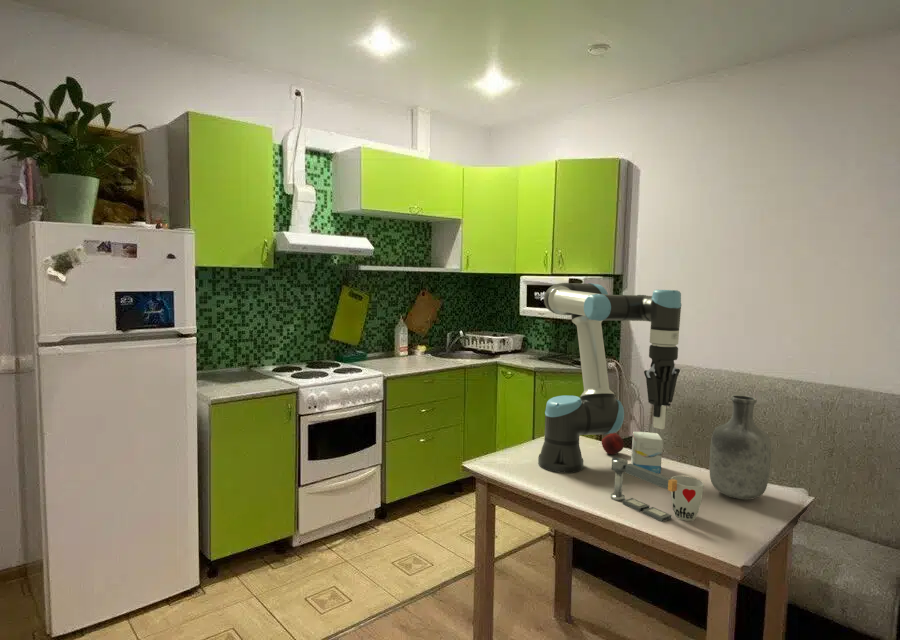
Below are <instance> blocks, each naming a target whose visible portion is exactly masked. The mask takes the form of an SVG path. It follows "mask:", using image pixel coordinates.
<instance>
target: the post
mask: <svg viewBox="0 0 900 640" xmlns="http://www.w3.org/2000/svg"><path fill="white" fill-rule="evenodd" d="M614 474H615V475H614V489H613V493H611V494H610V499H611V500H613V501H615V502H623V500H626V496H625V494H623V482H624V480H623V479H624V472H616V471H614Z"/></svg>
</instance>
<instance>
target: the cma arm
mask: <svg viewBox="0 0 900 640" xmlns="http://www.w3.org/2000/svg"><path fill="white" fill-rule="evenodd" d="M628 462H629V461H628V459H626V458H622V457H612V459H611V467H610V468H611V470H612V471H613V472H615V471H616V472H623V473H626V474H628V475H630V476H633V477H635V478H638V479H640V480H642V481H645V482H647V483H651V484H652V485H655V486H658V487H661V488H663V489H665V490H667V492H668V491H669V492H670V493H671V492H673V491H677V480H675V479H671V478H672V477H667V476H664V475H663V474H661V473H660V474H659V473H655V472H652V471H649V470H647V469H644V468H641V467H638V466H636V465H633V464H631V463H628Z"/></svg>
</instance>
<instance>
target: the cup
mask: <svg viewBox="0 0 900 640" xmlns="http://www.w3.org/2000/svg"><path fill="white" fill-rule="evenodd" d="M670 478H671V479H675V480H677V491H673V492H671V491H670V494H671V496H670V497H671V505H672V509H673V514H674V516H675V518H677V519H679V520H681V521H684V522H685V521H686V522H693V521H695V519H696V518H697V515H698V514H699V510H700V507H701V502H702V499H703V493H704V487H705V483H704V482H703V481H702V480H700V479H699V478H696V477H692V476H687V475H675V476H672V477H670Z"/></svg>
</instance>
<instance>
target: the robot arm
mask: <svg viewBox="0 0 900 640" xmlns="http://www.w3.org/2000/svg"><path fill="white" fill-rule="evenodd" d="M543 302H544V306H545V308H546V309H547V310H548V311H549V312H550V313H552V314H556V315H559V316H560V315H562V316H570V317H571V322H572V323H573V324H574V325H575V326H576V330H577V331H576V332H577V339H578V347H579V349H578V350H579V356H580V357H579V359H580V365H581V374H582V385H583V392H582V393H581V395H580V396H576V395H566V394H565V395H557V396H553V397H550V398H549V399H548V400H547V401H546V405H545V411H544V414H545V415H544V418H545V419H544V437H543V438H544V442H543V445H542V447H541V450H540V453H539V455H538V460H537V461H538V462H537V463H538V465H539V466H540V467H541V468H542V469H545V470H547V471H550V472H556V473H563V474H564V473H566V474H567V473H576V472H580V471H582V470H583V469H584V458H583V456H582V451H581V447H580V436H586V435H587V436H588V435H589V436H590V435H603V436H606V435H609V434H612V433H616V434H617V433H618V431H620V430H621V428H622V426H623V424H624V419H625V410H624V409H625V408H624V406H623V403H622V402H621V400H618V399H616V394H615V393H614V392H613V391H612V390H611V389H610V383H609V375H608V366H607V358H606V351H605V345H604V344H605V343H604V335H603V334H604V333H603V328H602V322H603V321H620V322H621V321H624V322H626V321H629V322H632V321H633V322H637V321H638V322H649V323H650V331H649V343H650V345H649V346H648V347H649V348H648V358H650V359H651V363H650V366H649V367H650V368H649V369H648V370H647V369H646V370H644V371H643V373H644V377H645V380H646V391H647V400H648V404H651V405H653V413H652V417H653V422H652V424H653V425H652V427H653V428H655V429H658V430H665V428H666V417H667V416H666V415H667V408H668V407H670V406H671V405H672V404H671V403H672V402H673V400H674V394H675V390H676V384H677V379H678V376H679V375H680V371H681V369H680V368H677V367H675V361H677V360H678V357H679V355H678V354H679V347H678V346H677V345H679V342H680V341H679V337H680V336H679V335H680V325H681V312H682V293H681V292H680V291H679V290H678V289H676V290H675V289H674V290H673V289H672V290H671V289H654V290H653V291H652V295H646V294H635V295H634V294H631V295H630V294H627V295H626V294H609V292H607V289H606V288H605V287H604V286H603V285H601V284H598V283H592V282H588V283H580V282H579V283H578V282H577V283H576V282H575V283H574V282H573V283H571V282H569V283H568V282H559V283H555V284H554V285H552V286H550V287H549V288H548V289H547V290H546V291H545V293H544V297H543Z"/></svg>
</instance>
